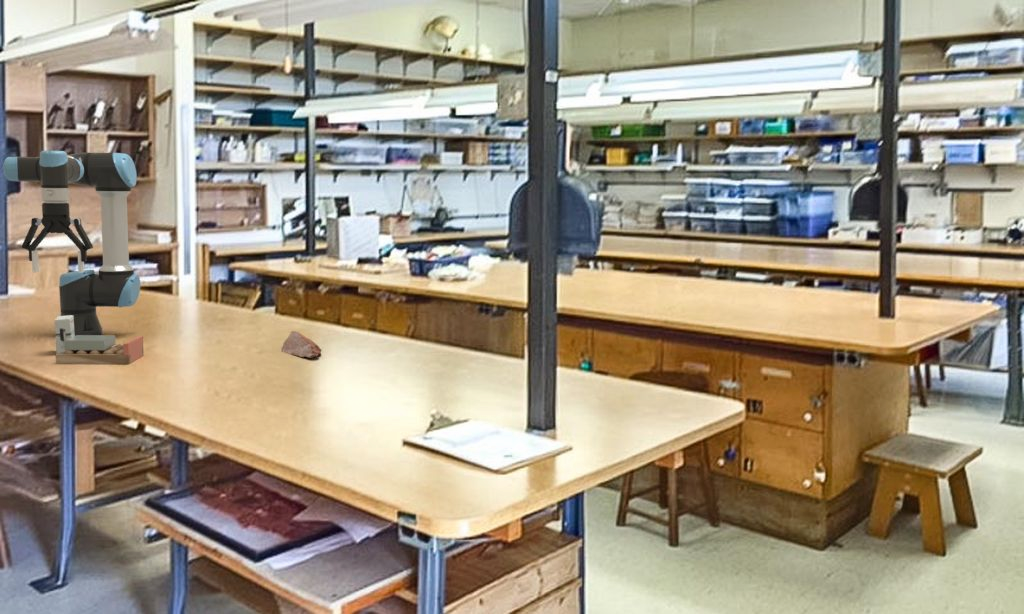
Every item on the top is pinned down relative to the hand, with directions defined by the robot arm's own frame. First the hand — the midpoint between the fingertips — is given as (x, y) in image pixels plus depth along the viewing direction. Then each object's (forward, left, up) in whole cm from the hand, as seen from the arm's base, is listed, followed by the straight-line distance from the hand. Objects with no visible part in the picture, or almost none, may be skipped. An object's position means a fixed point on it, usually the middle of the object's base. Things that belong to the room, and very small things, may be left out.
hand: (58, 272), depth 304 cm
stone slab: (-5, +7, -24) cm, 26 cm away
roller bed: (-5, +10, -28) cm, 30 cm away
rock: (-18, +73, -29) cm, 80 cm away
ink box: (-16, -5, -28) cm, 33 cm away
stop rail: (-5, +20, -28) cm, 35 cm away
